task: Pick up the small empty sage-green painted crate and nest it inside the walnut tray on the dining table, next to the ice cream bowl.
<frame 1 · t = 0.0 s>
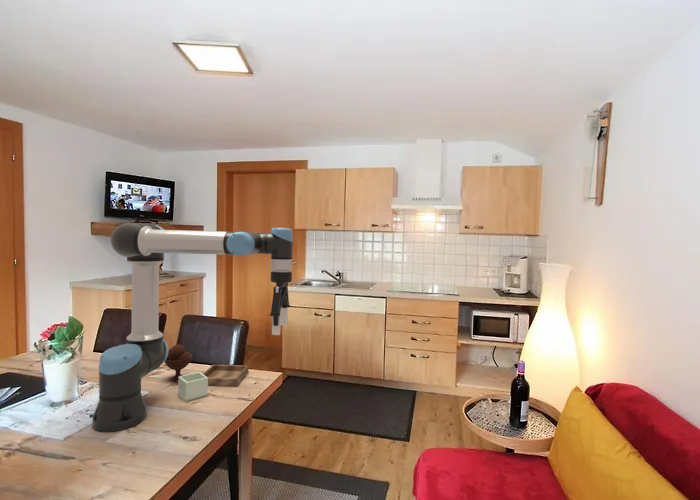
hand: (280, 329, 132), 28 cm above the table, fingers open, 13 cm apart
ice cream bowl: (178, 379, 155), on the table
walnut tray: (224, 378, 157), on the table
sage crate: (192, 395, 140), on the table
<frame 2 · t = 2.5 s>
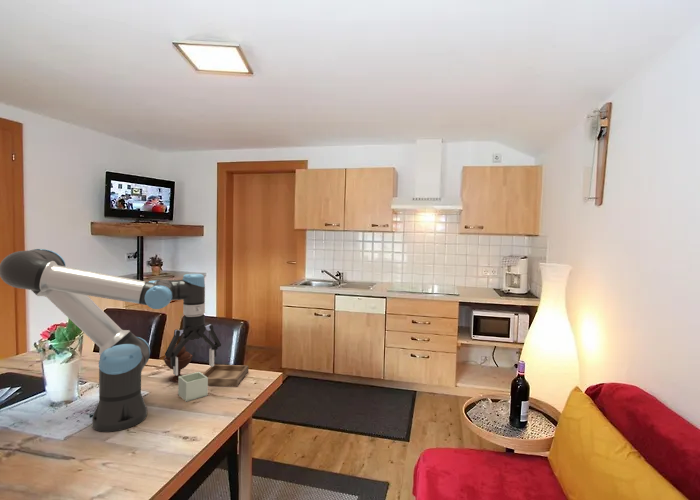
hand: (194, 369, 139), 10 cm above the table, fingers open, 13 cm apart
nothing on the table moved.
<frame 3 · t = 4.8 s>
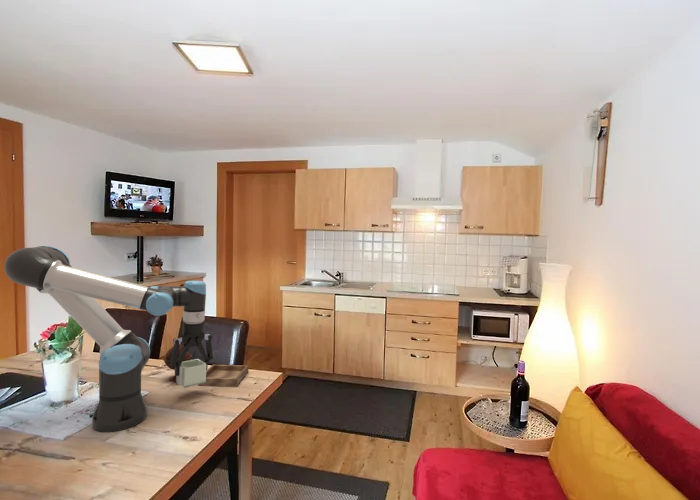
hand: (190, 380, 139), 6 cm above the table, fingers closed on sage crate, 8 cm apart
sage crate: (190, 381, 139), point 5 cm above the table, touching gripper
everything else where it was.
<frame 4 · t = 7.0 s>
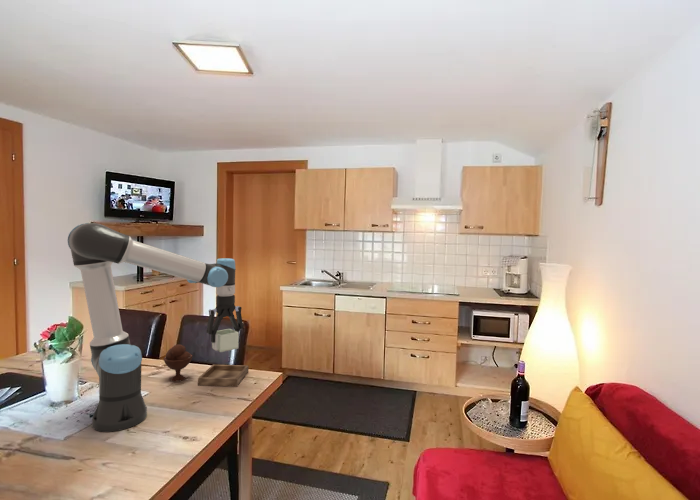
hand: (225, 347, 156), 13 cm above the table, fingers closed on sage crate, 8 cm apart
sage crate: (225, 348, 156), point 13 cm above the table, touching gripper
everything else where it was.
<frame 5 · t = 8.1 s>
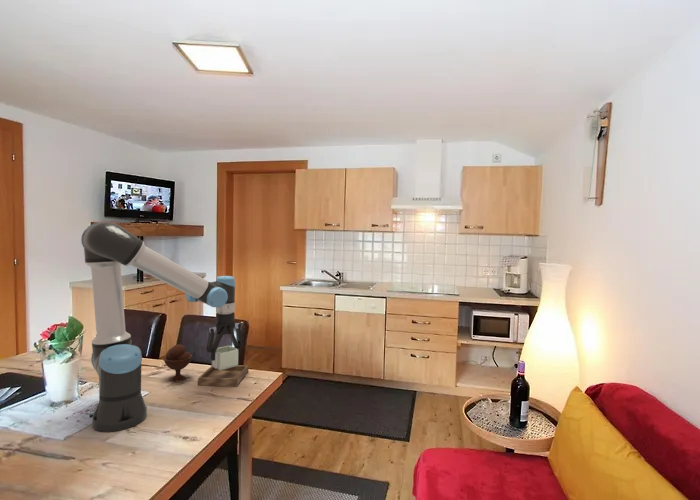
hand: (224, 365, 156), 6 cm above the table, fingers closed on sage crate, 8 cm apart
sage crate: (225, 365, 156), point 6 cm above the table, touching gripper
everything else where it was.
when the fingers open (3 cm above the table, at t = 9.1 s): sage crate drops 2 cm, resting on walnut tray.
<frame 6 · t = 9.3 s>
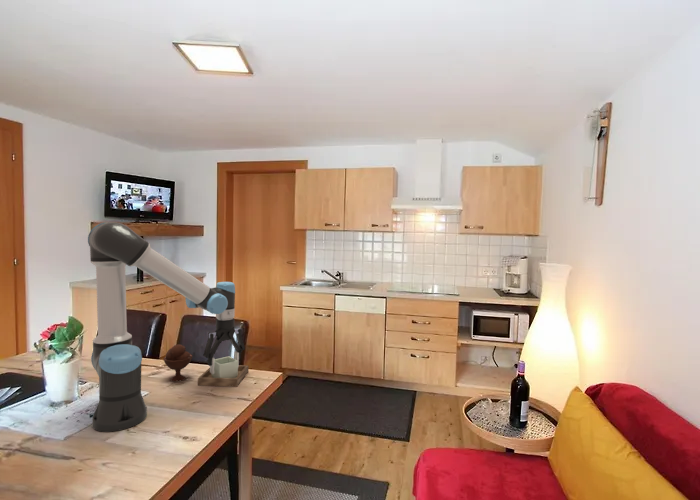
hand: (224, 369, 156), 4 cm above the table, fingers open, 10 cm apart
sage crate: (224, 376, 157), point 1 cm above the table, touching walnut tray
everything else where it was.
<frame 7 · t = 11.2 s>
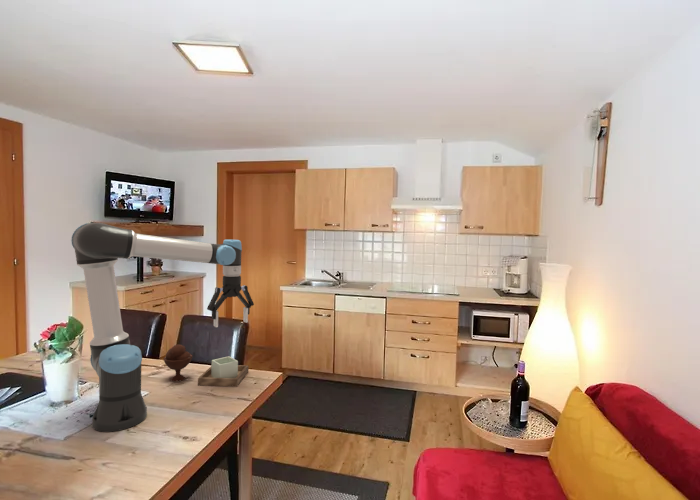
hand: (231, 324, 158), 23 cm above the table, fingers open, 13 cm apart
nothing on the table moved.
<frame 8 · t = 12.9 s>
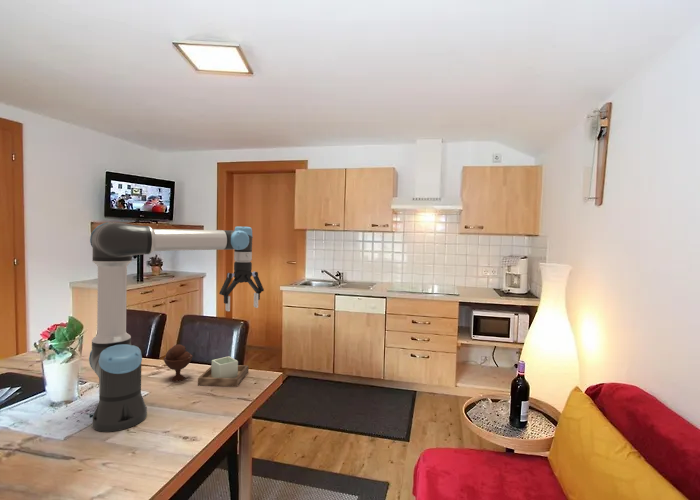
hand: (242, 309, 163), 29 cm above the table, fingers open, 13 cm apart
nothing on the table moved.
at the end: sage crate inside the target area on the walnut tray (0.1 cm from its centre), point 0.8 cm above the walnut tray's base; sage crate tilted 0°; the gripper is holding nothing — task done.
